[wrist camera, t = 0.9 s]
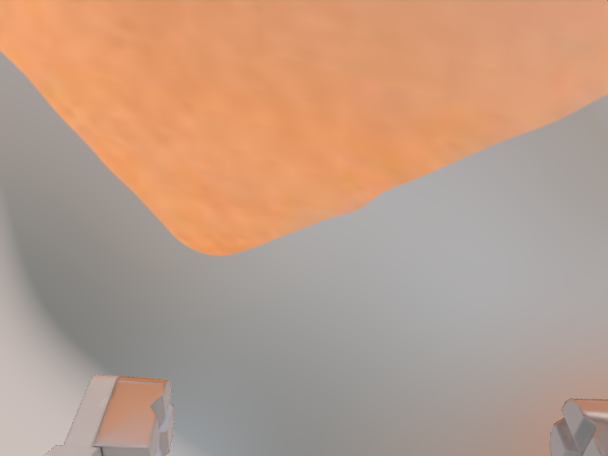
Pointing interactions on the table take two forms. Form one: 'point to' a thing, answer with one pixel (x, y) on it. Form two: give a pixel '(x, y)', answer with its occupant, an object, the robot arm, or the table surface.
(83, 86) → the table surface
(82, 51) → the table surface
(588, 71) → the table surface
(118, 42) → the table surface
